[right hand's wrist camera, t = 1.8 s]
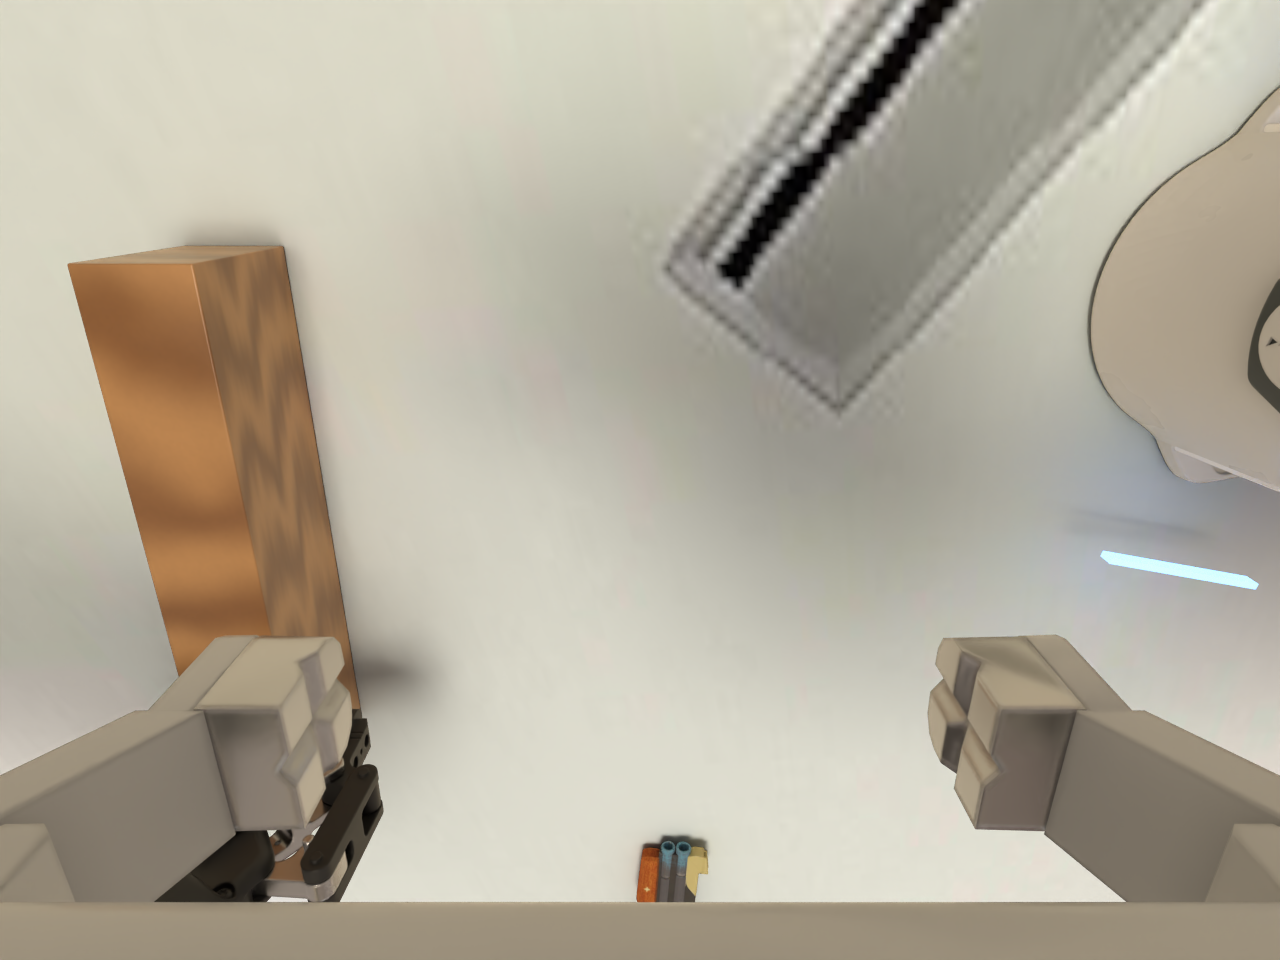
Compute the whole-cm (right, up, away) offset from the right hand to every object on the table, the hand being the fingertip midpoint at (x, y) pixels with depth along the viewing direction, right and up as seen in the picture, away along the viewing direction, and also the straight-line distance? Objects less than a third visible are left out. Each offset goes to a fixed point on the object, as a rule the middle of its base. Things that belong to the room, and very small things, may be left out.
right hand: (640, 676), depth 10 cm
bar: (-19, +1, +31) cm, 36 cm away
